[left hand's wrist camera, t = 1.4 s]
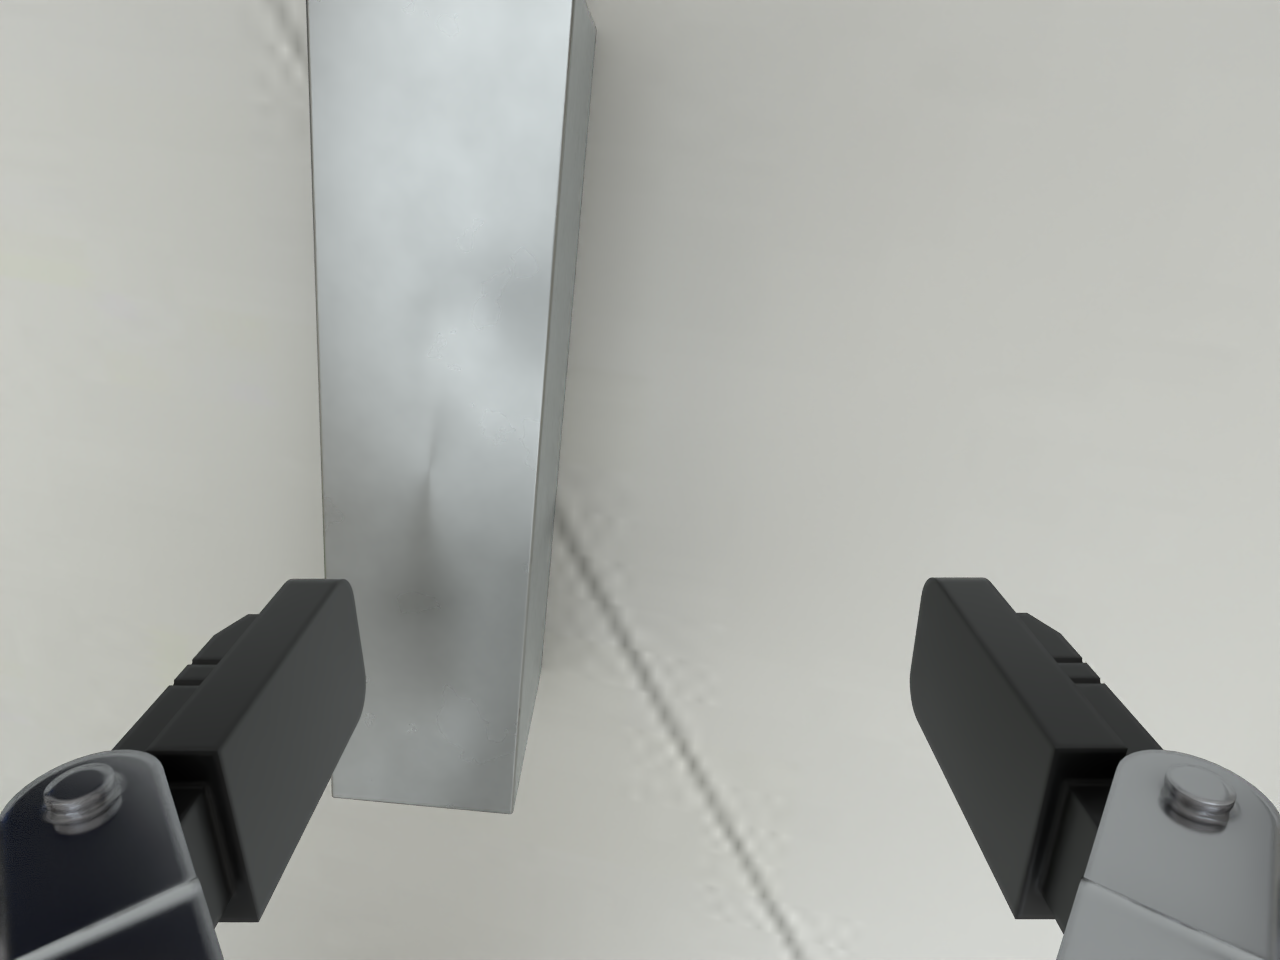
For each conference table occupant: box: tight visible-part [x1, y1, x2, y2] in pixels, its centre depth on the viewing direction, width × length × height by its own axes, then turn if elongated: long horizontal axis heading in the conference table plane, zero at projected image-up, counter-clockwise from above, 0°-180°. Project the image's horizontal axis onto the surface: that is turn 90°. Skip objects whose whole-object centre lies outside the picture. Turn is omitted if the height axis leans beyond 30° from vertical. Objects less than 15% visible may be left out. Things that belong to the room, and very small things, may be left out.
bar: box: [306, 0, 596, 814], centre depth 26 cm, size 24×6×8 cm, turn 173°
